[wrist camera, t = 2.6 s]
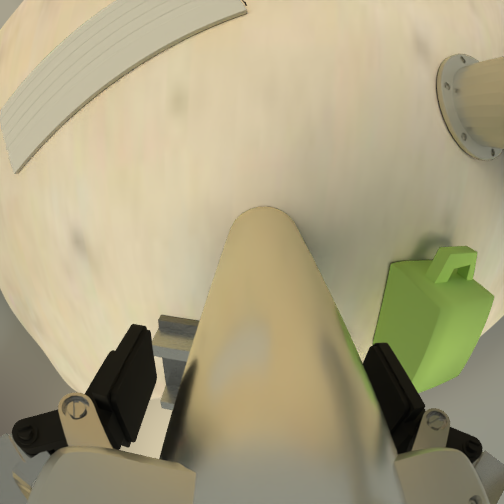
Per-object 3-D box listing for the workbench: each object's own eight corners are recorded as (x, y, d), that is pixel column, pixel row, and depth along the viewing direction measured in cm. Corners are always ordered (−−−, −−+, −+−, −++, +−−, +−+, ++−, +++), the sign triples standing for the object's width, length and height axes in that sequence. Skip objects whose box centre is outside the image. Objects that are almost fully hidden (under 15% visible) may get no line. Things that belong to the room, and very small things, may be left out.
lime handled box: (422, 354, 31) (453, 399, 22) (363, 368, 31) (389, 423, 22) (459, 233, 24) (514, 266, 15) (393, 234, 24) (452, 276, 15)
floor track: (341, 332, 28) (351, 355, 24) (314, 403, 33) (318, 425, 29) (160, 314, 28) (149, 336, 24) (169, 390, 32) (162, 412, 29)
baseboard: (3, 103, 19) (22, 172, 23) (-11, 102, 16) (6, 176, 20) (201, -46, 14) (248, 16, 18) (197, -59, 11) (247, 2, 15)
